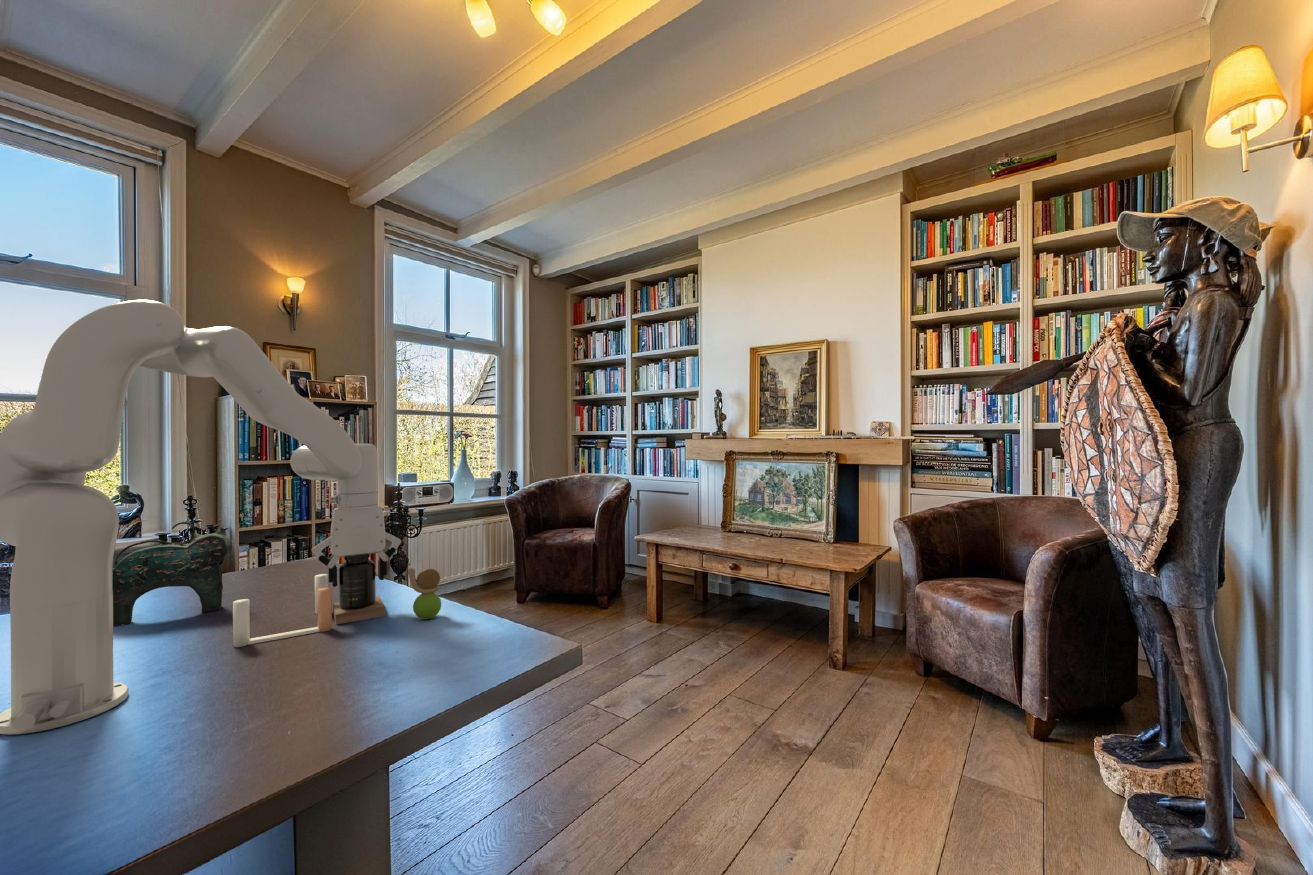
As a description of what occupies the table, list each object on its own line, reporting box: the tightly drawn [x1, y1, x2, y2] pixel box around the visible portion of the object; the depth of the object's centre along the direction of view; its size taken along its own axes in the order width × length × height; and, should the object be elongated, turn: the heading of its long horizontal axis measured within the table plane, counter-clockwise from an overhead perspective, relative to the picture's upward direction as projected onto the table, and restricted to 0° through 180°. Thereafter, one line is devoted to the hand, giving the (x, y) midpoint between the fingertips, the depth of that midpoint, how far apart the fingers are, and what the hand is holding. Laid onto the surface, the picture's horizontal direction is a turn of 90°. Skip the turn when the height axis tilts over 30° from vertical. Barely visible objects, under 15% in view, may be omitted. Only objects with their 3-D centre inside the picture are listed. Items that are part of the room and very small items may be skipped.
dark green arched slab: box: [112, 521, 232, 628], centre depth 114 cm, size 20×6×20 cm, turn 126°
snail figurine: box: [407, 562, 442, 620], centre depth 111 cm, size 5×6×12 cm
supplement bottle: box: [338, 554, 377, 610], centre depth 114 cm, size 7×7×12 cm
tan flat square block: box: [332, 596, 386, 625], centre depth 114 cm, size 9×9×2 cm
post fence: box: [232, 573, 333, 648], centre depth 107 cm, size 15×15×8 cm
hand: (358, 581), depth 114 cm, fingers open, 8 cm apart
